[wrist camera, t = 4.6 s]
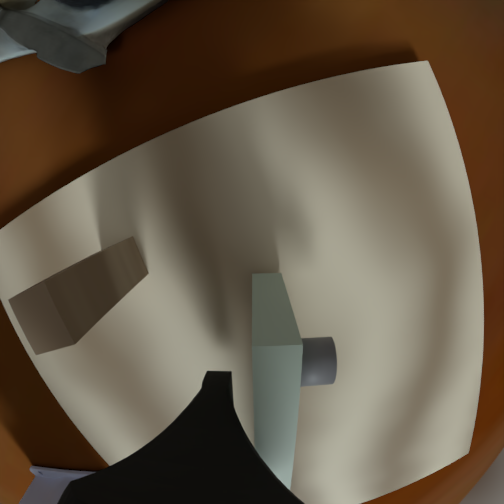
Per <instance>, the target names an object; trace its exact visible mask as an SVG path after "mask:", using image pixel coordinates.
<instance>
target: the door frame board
mask: <svg viewBox="0 0 504 504" xmlns="http://www.w3.org/2000/svg"><path fill="white" fill-rule="evenodd" d="M255 273H281V274H282V277H283V280H284V283H285V287H286V290H287V293H288V296H289V300H290V303H291V306H292V309H293V313H294V316H295V319H296V323H297V326H298V329H299V333H300V336H301V338H315V337H332V338H333V340H334V343H335V347H336V354H337V373H336V379H335V382H334V383H333V384H328V385H317V386H304V387H300V398H299V411H298V422H297V433H296V443H295V452H294V462H293V470H292V479H291V487H290V491H291V492H292V493H293V494H294V495H295V496H296V497H298V498H299V499H300V500H301V501H302V502H304V503H305V504H360V503H363V502H366V501H369V500H371V499H374V498H377V497H380V496H382V495H385V494H387V493H390V492H392V491H395V490H397V489H399V488H402V487H404V486H406V485H409V484H411V483H413V482H415V481H417V480H419V479H421V478H424V477H426V476H428V475H430V474H432V473H434V472H436V471H437V470H439V469H441V468H443V467H445V466H447V465H449V464H450V463H452V462H454V461H456V460H457V459H459V458H461V457H463V456H464V455H466V454H468V453H469V449H470V444H471V439H472V435H473V430H474V424H475V418H476V412H477V406H478V399H479V391H480V382H481V372H482V358H483V337H484V303H483V281H482V267H481V256H480V247H479V239H478V232H477V225H476V219H475V213H474V207H473V202H472V197H471V192H470V187H469V182H468V178H467V174H466V170H465V166H464V162H463V158H462V154H461V151H460V147H459V144H458V140H457V137H456V134H455V130H454V127H453V124H452V121H451V118H450V115H449V112H448V110H447V107H446V104H445V101H444V99H443V96H442V93H441V91H440V88H439V86H438V83H437V81H436V79H435V76H434V74H433V71H432V69H431V67H430V65H429V62H428V61H420V62H412V63H405V64H398V65H391V66H385V67H379V68H374V69H368V70H363V71H358V72H353V73H348V74H344V75H339V76H335V77H330V78H326V79H322V80H318V81H314V82H310V83H306V84H303V85H299V86H295V87H292V88H288V89H285V90H282V91H278V92H275V93H272V94H268V95H265V96H262V97H259V98H256V99H253V100H250V101H247V102H244V103H241V104H238V105H235V106H233V107H230V108H227V109H224V110H222V111H219V112H216V113H214V114H211V115H208V116H206V117H203V118H201V119H198V120H196V121H193V122H191V123H189V124H186V125H184V126H181V127H179V128H177V129H174V130H172V131H170V132H168V133H165V134H163V135H161V136H159V137H156V138H154V139H152V140H150V141H148V142H146V143H144V144H142V145H140V146H137V147H135V148H133V149H131V150H129V151H127V152H125V153H123V154H121V155H119V156H118V157H116V158H114V159H112V160H110V161H108V162H106V163H104V164H102V165H101V166H99V167H97V168H95V169H93V170H91V171H90V172H88V173H86V174H84V175H83V176H81V177H79V178H77V179H76V180H74V181H72V182H71V183H69V184H67V185H66V186H64V187H62V188H61V189H59V190H58V191H56V192H54V193H53V194H51V195H50V196H48V197H46V198H45V199H43V200H42V201H40V202H39V203H37V204H36V205H34V206H33V207H31V208H30V209H28V210H27V211H25V212H24V213H23V214H21V215H20V216H18V217H17V218H15V219H14V220H13V221H11V222H10V223H8V224H7V225H6V226H4V227H3V228H2V229H0V299H1V301H2V303H3V306H4V308H5V310H6V312H7V314H8V316H9V319H10V321H11V323H12V325H13V327H14V329H15V331H16V333H17V335H18V337H19V338H20V340H21V342H22V344H23V346H24V348H25V350H26V351H27V353H28V355H29V357H30V358H31V360H32V362H33V364H34V365H35V367H36V369H37V370H38V372H39V373H40V375H41V377H42V378H43V380H44V381H45V383H46V385H47V386H48V388H49V389H50V391H51V392H52V394H53V395H54V397H55V398H56V399H57V401H58V402H59V404H60V405H61V407H62V408H63V409H64V411H65V412H66V414H67V415H68V416H69V418H70V419H71V420H72V422H73V423H74V424H75V425H76V427H77V428H78V429H79V431H80V432H81V433H82V434H83V436H84V437H85V438H86V439H87V440H88V442H89V443H90V444H91V445H92V446H93V448H94V449H95V450H96V451H97V452H98V453H99V454H100V456H101V457H102V458H103V459H104V460H105V461H106V462H107V463H108V464H109V465H110V466H111V465H113V464H115V463H117V462H119V461H121V460H122V459H124V458H126V457H128V456H130V455H131V454H133V453H134V452H136V451H137V450H139V449H140V448H142V447H143V446H144V445H146V444H147V443H149V442H150V441H151V440H153V439H154V438H155V437H156V436H157V435H159V434H160V433H161V432H162V431H163V430H164V429H166V428H167V427H168V426H169V425H170V424H171V423H172V422H173V421H174V420H175V419H176V418H177V417H178V416H179V415H180V413H181V412H182V411H183V410H184V409H185V408H186V407H187V406H188V405H189V403H190V402H191V401H192V400H193V398H194V397H195V396H196V395H197V393H198V392H199V391H200V389H201V387H202V381H203V379H204V376H205V374H206V372H207V371H232V385H233V400H234V408H235V411H236V414H237V416H238V418H239V421H240V423H241V425H242V427H243V429H244V431H245V433H246V435H247V436H248V438H249V440H250V442H251V443H252V445H253V446H254V448H255V442H254V407H253V371H252V274H255Z"/></svg>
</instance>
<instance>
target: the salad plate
mask: <svg viewBox="0 0 504 504" xmlns="http://www.w3.org/2000/svg"><path fill="white" fill-rule="evenodd" d="M36 1H37V0H0V63H1V62H3V61H6V60H9V59H12V58H17V57H21V56H24V55H28V54H32V53H37V57H38V58H39V59H40V60H43V61H44V62H46V63H48V64H51V65H53V66H55V67H58V68H60V69H63V70H67V71H71V72H74V73H81V72H84V71H86V70H88V69H90V68H93V67H97V66H100V65H103V64H105V63H106V53H107V50H106V48H107V46H108V45H109V44H110V43H111V42H112V41H113V40H114V39H115V38H116V37H117V36H118V35H119V34H120V33H122V32H123V31H124V30H126V29H127V28H129V27H130V26H132V25H133V24H135V23H136V22H138V21H139V20H141V19H142V18H144V17H145V16H147V15H148V14H150V13H151V12H152V11H154V10H155V9H157V8H158V7H160V6H161V5H163V4H164V3H166V2H167V1H169V0H40V1H39V2H38V3H36V4H35V2H36Z"/></svg>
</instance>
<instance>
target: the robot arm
mask: <svg viewBox="0 0 504 504" xmlns="http://www.w3.org/2000/svg"><path fill="white" fill-rule="evenodd" d="M30 470H31V472H32V473H33V474H34V475H35V478H34V479H33V481H32V483H31V484H30V486H29V488H28V489H27V491H26V493H25V494H24V496H23V498H22V499H21V501H20V503H19V504H305V503H304V502H302V501H301V500H300V499H299V498H298V497H296V496H295V495H294V494H293V493H292V492H291V491H290V490H289V489H288V488H287V487H286V486H285V485H284V484H283V483H282V482H281V481H280V480H279V479H278V478H277V477H276V475H275V474H274V473H273V472H272V471H271V469H270V468H269V467H268V466H267V464H266V463H265V462H264V461H263V459H262V458H261V457H260V455H259V454H258V452H257V451H256V449H255V448H254V446H253V445H252V443H251V442H250V440H249V438H248V436H247V435H246V433H245V431H244V429H243V427H242V425H241V423H240V421H239V418H238V416H237V414H236V411H235V408H234V400H233V385H232V371H207V372H206V374H205V376H204V379H203V381H202V387H201V389H200V391H199V392H198V393H197V395H196V396H195V397H194V398H193V400H192V401H191V402H190V403H189V405H188V406H187V407H186V408H185V409H184V410H183V411H182V412H181V413H180V415H179V416H178V417H177V418H176V419H175V420H174V421H173V422H172V423H171V424H170V425H169V426H168V427H167V428H166V429H164V430H163V431H162V432H161V433H160V434H159V435H157V436H156V437H155V438H154V439H153V440H151V441H150V442H149V443H147V444H146V445H144V446H143V447H142V448H140V449H139V450H137V451H136V452H134V453H133V454H131V455H130V456H128V457H126V458H124V459H122V460H121V461H119V462H117V463H115V464H113V465H111V466H109V467H107V468H105V469H102V470H100V471H98V472H89V471H74V470H63V469H53V468H45V467H38V466H31V467H30Z"/></svg>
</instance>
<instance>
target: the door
mask: <svg viewBox="0 0 504 504" xmlns="http://www.w3.org/2000/svg"><path fill="white" fill-rule="evenodd" d="M252 371H253V407H254V442H255V449H256V451H257V452H258V454H259V455H260V457H261V458H262V459H263V461H264V462H265V463H266V464H267V466H268V467H269V468H270V469H271V471H272V472H273V473H274V474H275V475H276V477H277V478H278V479H279V480H280V481H281V482H282V483H283V484H284V485H285V486H286V487H287V488H288V489H289V490H290V487H291V479H292V470H293V462H294V452H295V443H296V433H297V422H298V411H299V398H300V387H304V386H317V385H328V384H333V383H334V382H335V379H336V373H337V354H336V347H335V343H334V340H333V338H332V337H315V338H301V336H300V333H299V329H298V326H297V323H296V319H295V316H294V313H293V309H292V306H291V303H290V300H289V296H288V293H287V290H286V287H285V283H284V280H283V277H282V274H281V273H255V274H252Z"/></svg>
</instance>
